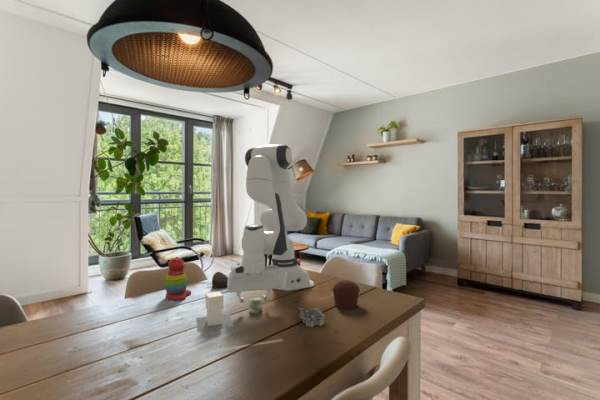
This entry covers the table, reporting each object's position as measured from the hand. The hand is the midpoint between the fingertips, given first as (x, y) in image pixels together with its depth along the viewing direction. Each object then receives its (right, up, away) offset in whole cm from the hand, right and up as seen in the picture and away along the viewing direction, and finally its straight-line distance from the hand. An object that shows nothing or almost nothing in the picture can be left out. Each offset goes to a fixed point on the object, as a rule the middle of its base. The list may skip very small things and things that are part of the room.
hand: (253, 301), depth 124 cm
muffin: (+37, -4, +8) cm, 38 cm away
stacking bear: (-37, -4, +19) cm, 42 cm away
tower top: (-12, +1, -11) cm, 16 cm away
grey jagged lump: (+23, -5, -8) cm, 24 cm away
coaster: (-12, -5, -10) cm, 17 cm away
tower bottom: (-12, -4, -10) cm, 17 cm away
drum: (+1, -4, +1) cm, 5 cm away
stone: (-22, -4, +35) cm, 41 cm away
